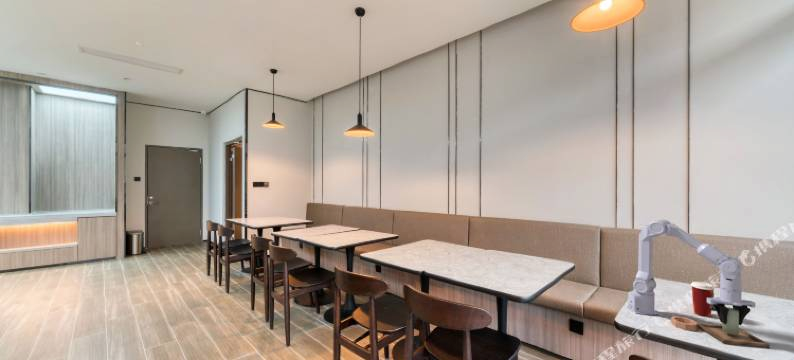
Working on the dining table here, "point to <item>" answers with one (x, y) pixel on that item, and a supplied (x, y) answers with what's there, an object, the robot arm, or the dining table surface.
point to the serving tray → (732, 336)
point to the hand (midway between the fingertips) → (730, 323)
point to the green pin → (732, 322)
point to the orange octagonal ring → (684, 323)
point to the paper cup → (702, 298)
